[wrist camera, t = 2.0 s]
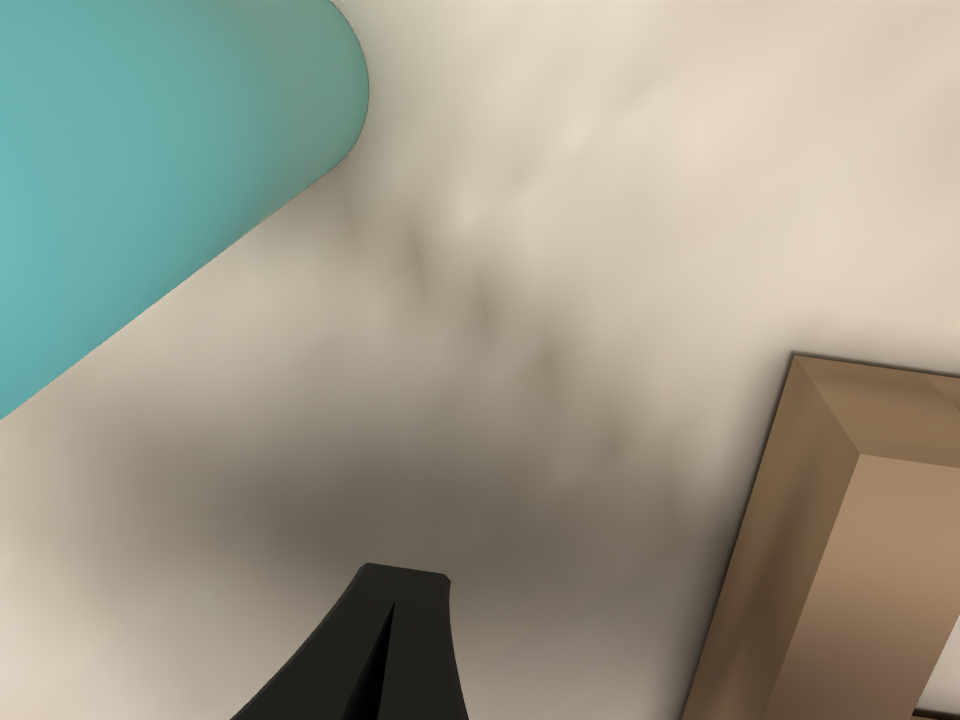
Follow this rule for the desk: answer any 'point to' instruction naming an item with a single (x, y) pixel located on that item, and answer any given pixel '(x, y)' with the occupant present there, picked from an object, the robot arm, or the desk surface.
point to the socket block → (841, 553)
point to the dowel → (150, 153)
